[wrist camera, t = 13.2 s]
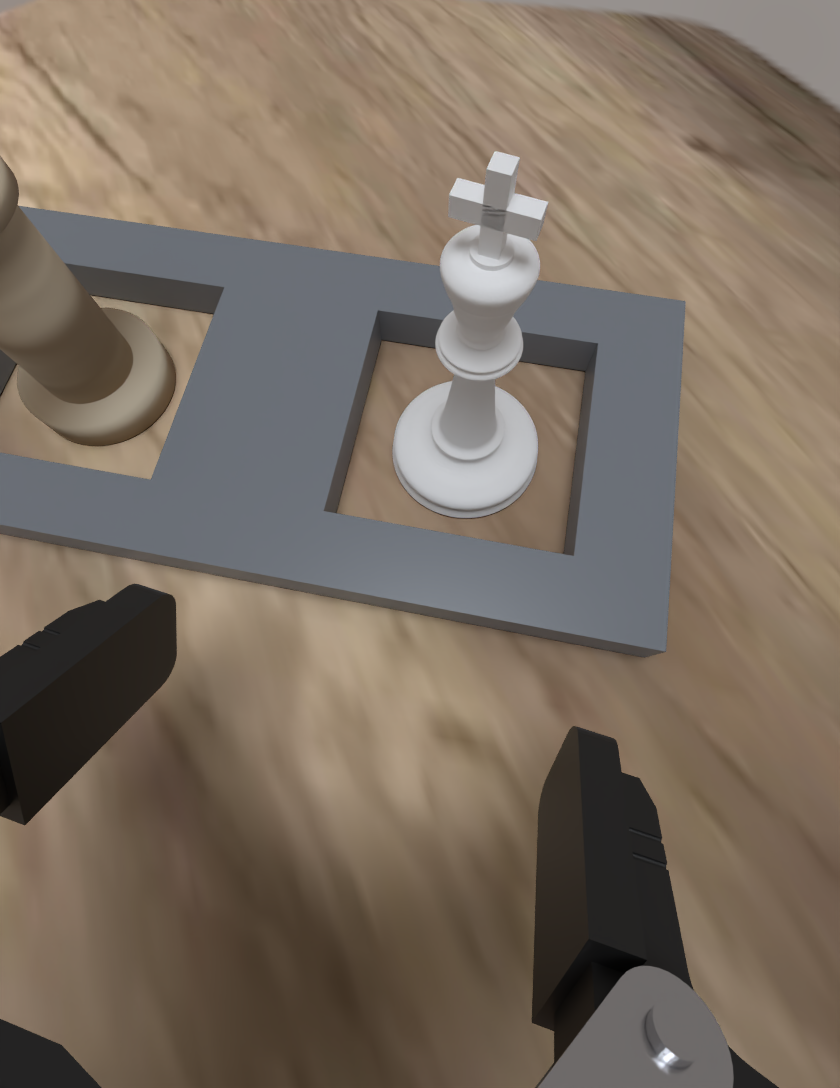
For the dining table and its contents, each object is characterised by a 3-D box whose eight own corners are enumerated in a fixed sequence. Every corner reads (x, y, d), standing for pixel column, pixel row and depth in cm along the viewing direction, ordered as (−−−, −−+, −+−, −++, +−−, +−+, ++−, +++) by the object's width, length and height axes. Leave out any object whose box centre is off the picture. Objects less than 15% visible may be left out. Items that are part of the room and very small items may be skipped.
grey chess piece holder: (666, 331, 20) (685, 301, 18) (644, 657, 16) (666, 651, 15) (12, 235, 22) (-18, 200, 20) (-139, 506, 18) (-187, 488, 17)
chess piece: (423, 372, 19) (417, 36, 10) (554, 414, 19) (684, 100, 9) (370, 489, 18) (304, 232, 8) (510, 539, 17) (610, 322, 8)
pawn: (193, 341, 20) (-25, -5, 10) (148, 456, 18) (-152, 176, 9) (72, 322, 20) (-246, -30, 11) (19, 433, 19) (-403, 141, 9)
